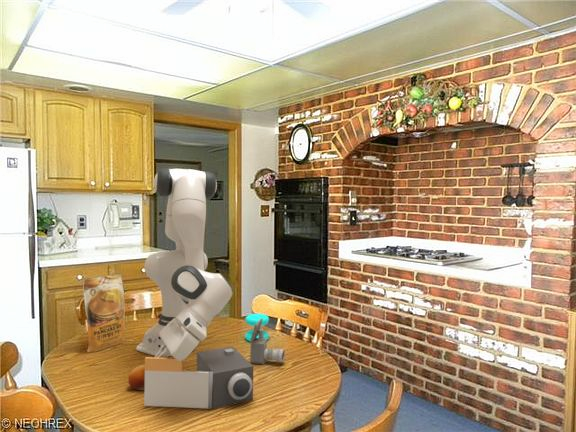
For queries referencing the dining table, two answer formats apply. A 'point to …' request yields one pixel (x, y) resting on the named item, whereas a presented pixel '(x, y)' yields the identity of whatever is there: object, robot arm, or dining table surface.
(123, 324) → the pancake mix bag
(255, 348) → the camera
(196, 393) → the side door
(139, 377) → the fruit
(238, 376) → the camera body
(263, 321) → the turquoise spool
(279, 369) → the dining table surface
